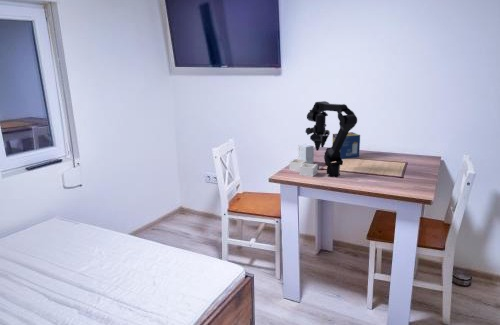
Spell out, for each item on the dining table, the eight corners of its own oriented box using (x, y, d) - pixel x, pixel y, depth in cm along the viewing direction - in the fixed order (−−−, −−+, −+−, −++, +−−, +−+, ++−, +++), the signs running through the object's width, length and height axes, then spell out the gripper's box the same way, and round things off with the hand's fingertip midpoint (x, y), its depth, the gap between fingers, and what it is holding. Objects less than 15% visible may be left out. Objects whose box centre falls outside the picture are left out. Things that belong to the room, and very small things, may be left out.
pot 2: (317, 174, 217) (317, 164, 215) (312, 178, 210) (312, 168, 208) (304, 172, 220) (304, 163, 219) (299, 176, 213) (299, 166, 212)
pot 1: (306, 169, 227) (306, 160, 225) (302, 173, 220) (302, 163, 218) (294, 168, 230) (294, 158, 229) (289, 171, 224) (289, 162, 222)
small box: (313, 166, 234) (314, 145, 231) (305, 167, 231) (305, 147, 228) (305, 163, 241) (306, 143, 238) (297, 164, 238) (297, 144, 235)
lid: (312, 168, 230) (312, 161, 228) (325, 170, 225) (325, 163, 224) (306, 172, 223) (306, 164, 221) (320, 174, 218) (320, 166, 217)
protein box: (331, 155, 258) (332, 133, 254) (351, 153, 262) (352, 132, 258) (339, 159, 248) (340, 136, 244) (359, 157, 253) (360, 134, 249)
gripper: (312, 120, 230) (312, 144, 234) (301, 124, 214) (301, 151, 218) (330, 120, 225) (329, 146, 229) (320, 125, 209) (319, 152, 213)
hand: (319, 148), depth 223 cm, fingers open, 9 cm apart
